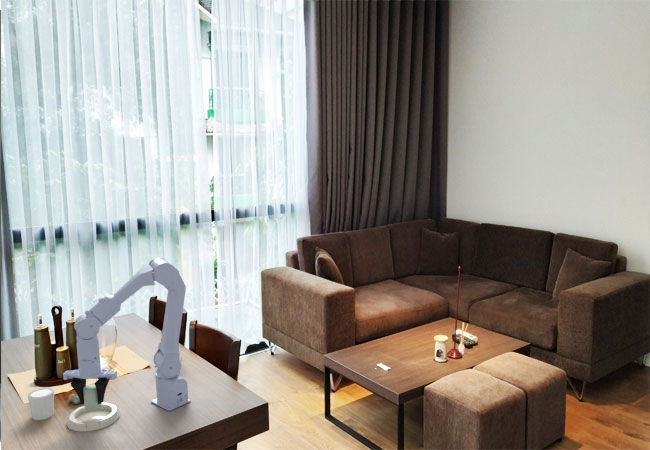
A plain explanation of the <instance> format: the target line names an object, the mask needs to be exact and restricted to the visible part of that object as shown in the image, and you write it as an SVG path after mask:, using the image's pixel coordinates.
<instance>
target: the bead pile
mask: <svg viewBox="0 0 650 450" xmlns="http://www.w3.org/2000/svg"><path fill="white" fill-rule="evenodd" d="M67 400H68V402H70V403H73V404H74V405H79V404H81V402H80V399H79V397H78V395H77V394H75V393H71V394H69V396H68V398H67Z"/></svg>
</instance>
